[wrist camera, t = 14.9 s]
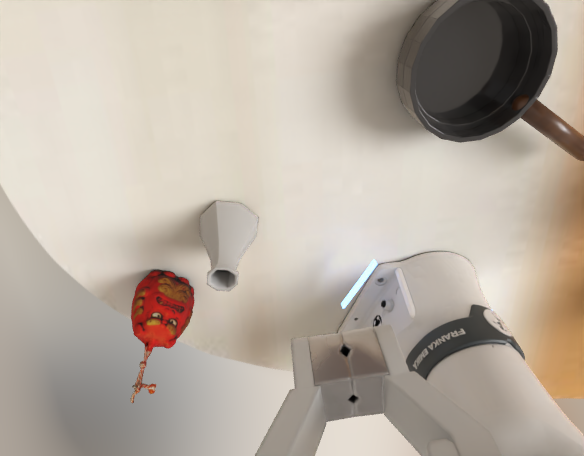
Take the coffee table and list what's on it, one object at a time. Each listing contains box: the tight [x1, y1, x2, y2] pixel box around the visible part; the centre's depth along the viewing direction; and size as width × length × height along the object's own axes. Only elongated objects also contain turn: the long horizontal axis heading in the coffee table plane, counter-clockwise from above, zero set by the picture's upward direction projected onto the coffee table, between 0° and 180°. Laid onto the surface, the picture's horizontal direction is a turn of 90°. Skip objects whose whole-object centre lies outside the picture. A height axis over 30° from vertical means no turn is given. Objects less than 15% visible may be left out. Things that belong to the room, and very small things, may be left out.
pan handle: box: [512, 94, 584, 161], centre depth 38 cm, size 12×2×2 cm, turn 60°
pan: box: [397, 0, 558, 142], centre depth 35 cm, size 13×13×4 cm
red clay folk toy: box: [131, 270, 194, 403], centre depth 44 cm, size 8×7×15 cm
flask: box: [200, 201, 259, 291], centre depth 41 cm, size 7×7×10 cm
